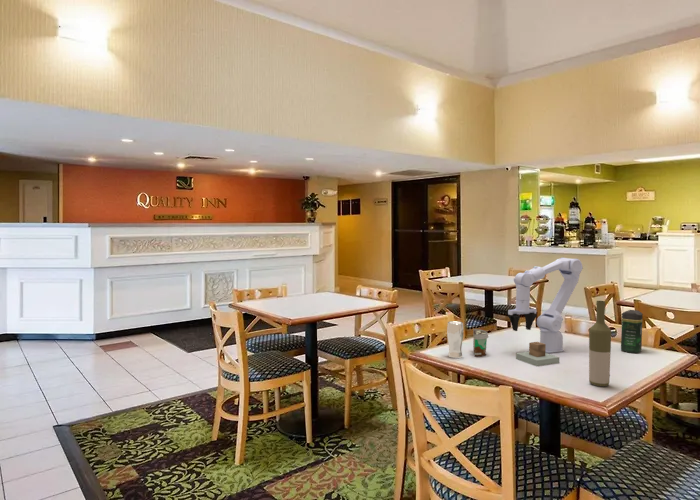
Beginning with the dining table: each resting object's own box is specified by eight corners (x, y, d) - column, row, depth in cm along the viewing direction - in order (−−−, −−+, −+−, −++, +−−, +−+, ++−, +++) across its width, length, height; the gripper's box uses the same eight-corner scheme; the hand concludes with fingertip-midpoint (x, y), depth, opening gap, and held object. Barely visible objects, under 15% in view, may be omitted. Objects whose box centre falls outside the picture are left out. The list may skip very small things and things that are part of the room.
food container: (489, 358, 204) (489, 335, 204) (474, 357, 205) (474, 334, 205) (487, 350, 216) (487, 329, 216) (473, 350, 217) (473, 328, 217)
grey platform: (537, 357, 207) (537, 350, 207) (559, 364, 196) (559, 357, 196) (516, 360, 203) (516, 353, 203) (536, 367, 192) (537, 360, 192)
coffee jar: (639, 354, 209) (640, 312, 208) (619, 351, 214) (620, 310, 213) (643, 350, 216) (644, 309, 215) (623, 347, 221) (624, 308, 220)
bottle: (589, 386, 167) (590, 302, 166) (587, 380, 174) (588, 299, 172) (611, 388, 165) (613, 303, 163) (608, 382, 171) (610, 300, 170)
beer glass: (466, 356, 207) (466, 322, 206) (458, 359, 202) (458, 324, 201) (452, 353, 212) (452, 320, 211) (443, 356, 207) (444, 322, 206)
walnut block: (537, 353, 203) (537, 341, 202) (545, 355, 198) (545, 344, 198) (529, 354, 201) (529, 342, 200) (537, 357, 197) (537, 345, 196)
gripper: (528, 298, 218) (527, 327, 218) (503, 299, 212) (502, 329, 212) (540, 300, 211) (539, 330, 212) (514, 301, 205) (513, 332, 206)
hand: (521, 330), depth 212 cm, fingers open, 7 cm apart
